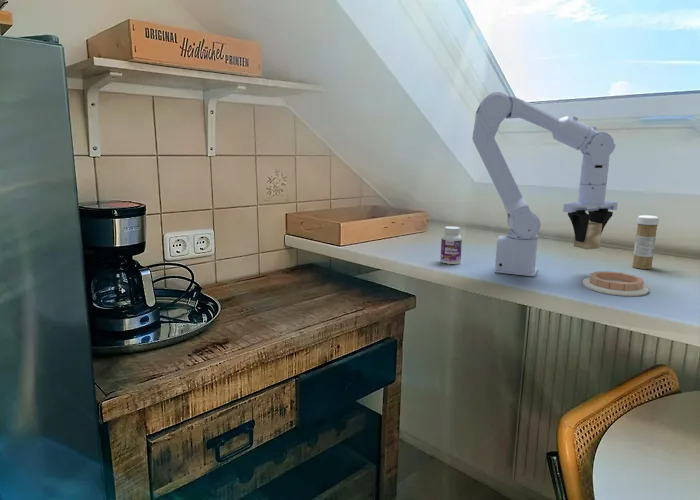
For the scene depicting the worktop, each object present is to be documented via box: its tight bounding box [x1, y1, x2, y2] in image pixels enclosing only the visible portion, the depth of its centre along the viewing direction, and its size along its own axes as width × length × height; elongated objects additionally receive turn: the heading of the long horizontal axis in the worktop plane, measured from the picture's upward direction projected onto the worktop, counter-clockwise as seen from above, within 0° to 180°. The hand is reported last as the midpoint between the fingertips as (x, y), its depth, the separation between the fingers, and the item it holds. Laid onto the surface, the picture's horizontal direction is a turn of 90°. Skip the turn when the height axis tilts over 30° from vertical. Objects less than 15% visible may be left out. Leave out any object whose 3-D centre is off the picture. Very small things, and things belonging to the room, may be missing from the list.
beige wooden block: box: [573, 221, 602, 250], centre depth 118 cm, size 4×4×6 cm
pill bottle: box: [440, 225, 463, 265], centre depth 131 cm, size 5×5×10 cm
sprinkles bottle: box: [631, 214, 660, 270], centre depth 125 cm, size 5×5×14 cm
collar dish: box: [582, 270, 650, 297], centre depth 109 cm, size 13×13×2 cm
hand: (587, 240), depth 119 cm, fingers closed on beige wooden block, 4 cm apart
